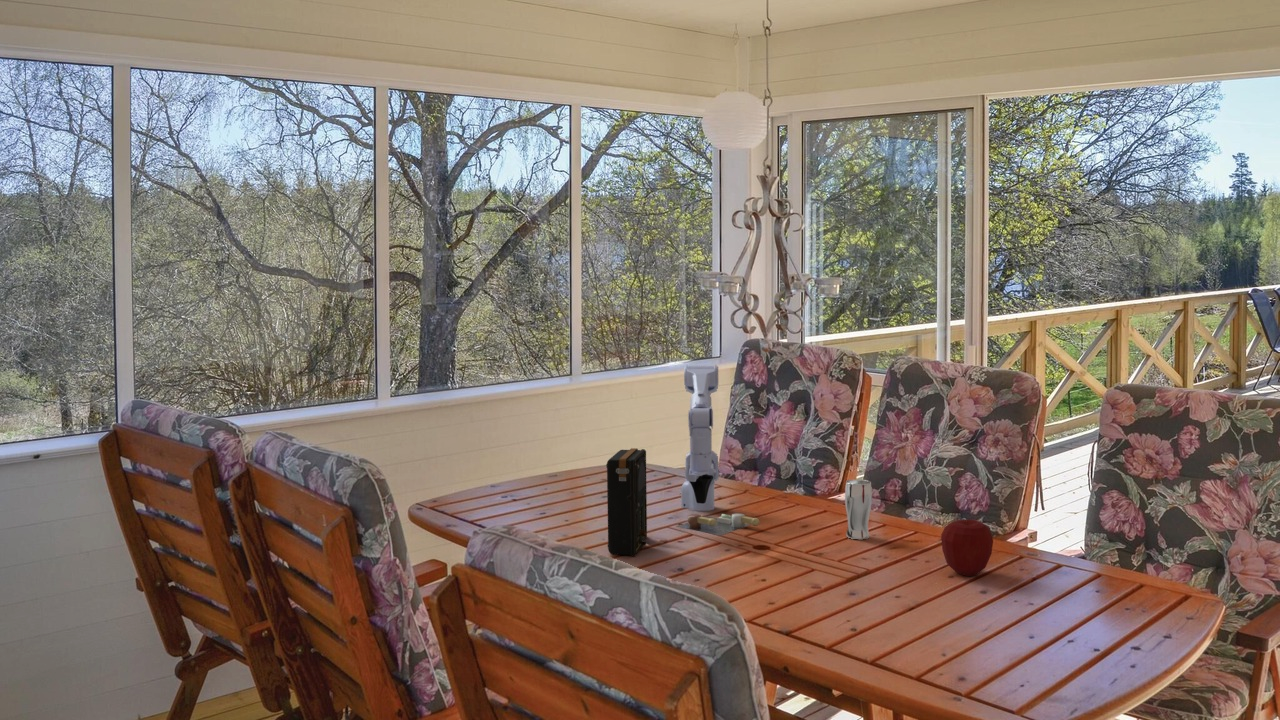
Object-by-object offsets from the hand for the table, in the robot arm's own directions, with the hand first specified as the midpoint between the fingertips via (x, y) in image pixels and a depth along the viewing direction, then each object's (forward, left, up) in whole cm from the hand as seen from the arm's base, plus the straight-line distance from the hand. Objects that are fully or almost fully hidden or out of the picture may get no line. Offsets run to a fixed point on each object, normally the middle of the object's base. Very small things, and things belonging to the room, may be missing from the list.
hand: (701, 502), depth 273 cm
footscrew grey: (+6, +12, -8) cm, 16 cm away
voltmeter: (-8, -20, -10) cm, 24 cm away
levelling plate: (-2, +8, -9) cm, 12 cm away
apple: (+68, +14, -10) cm, 70 cm away
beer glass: (+33, +26, -10) cm, 43 cm away
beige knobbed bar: (-3, +4, -8) cm, 10 cm away
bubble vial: (-1, +13, -8) cm, 16 cm away
